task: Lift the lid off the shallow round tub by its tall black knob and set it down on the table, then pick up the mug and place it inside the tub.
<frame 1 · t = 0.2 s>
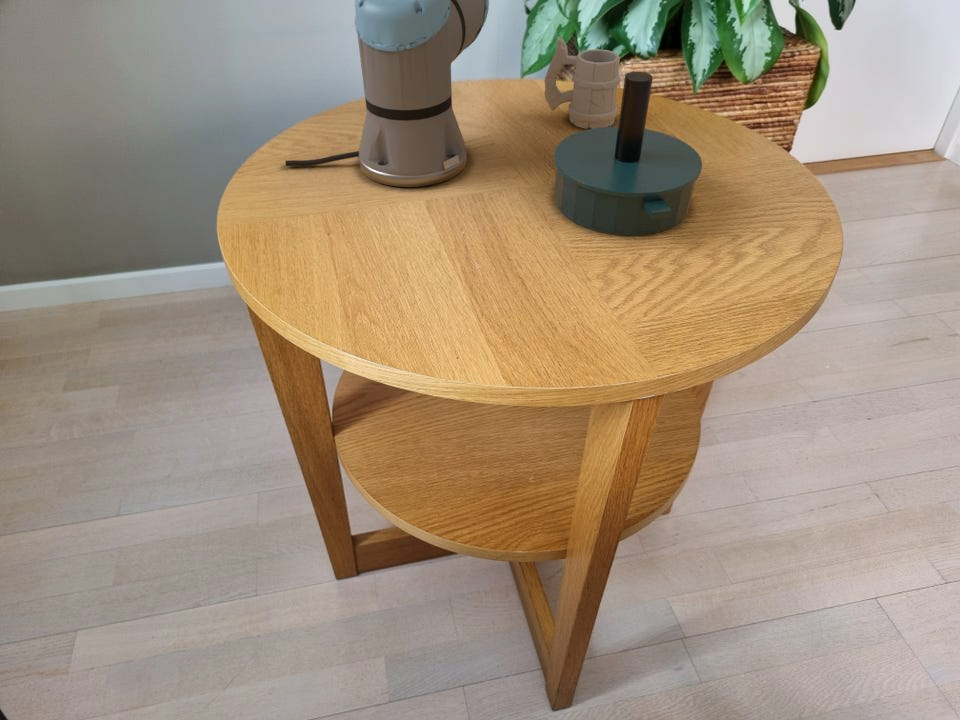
shallow round tub: (620, 200, 92), on the table
mug: (578, 120, 111), on the table
lid: (626, 161, 88), point 5 cm above the table, touching shallow round tub
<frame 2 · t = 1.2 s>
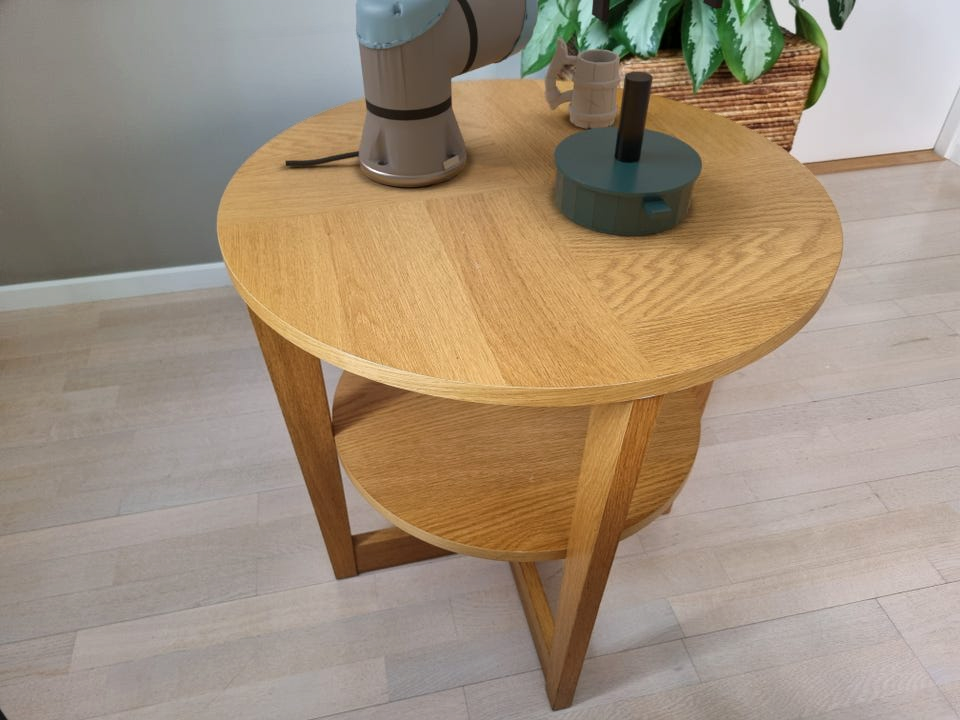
hand: (656, 11, 77), 23 cm above the table, tool pointing down, fingers open, 13 cm apart
nothing on the table moved.
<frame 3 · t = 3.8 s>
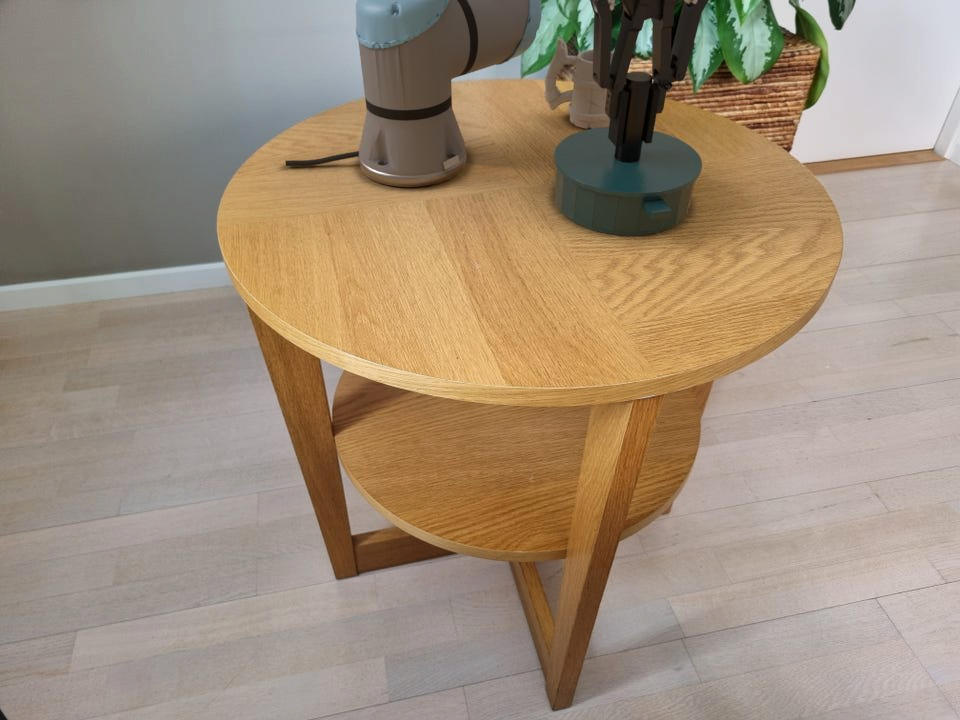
hand: (629, 139, 86), 8 cm above the table, tool pointing down, fingers closed on lid, 3 cm apart
lid: (626, 161, 88), point 5 cm above the table, touching gripper, shallow round tub
everything else where it was.
when the fingers open (3 cm above the table, at t = 12.1 s): lid stays where it is, point 1 cm above the table.
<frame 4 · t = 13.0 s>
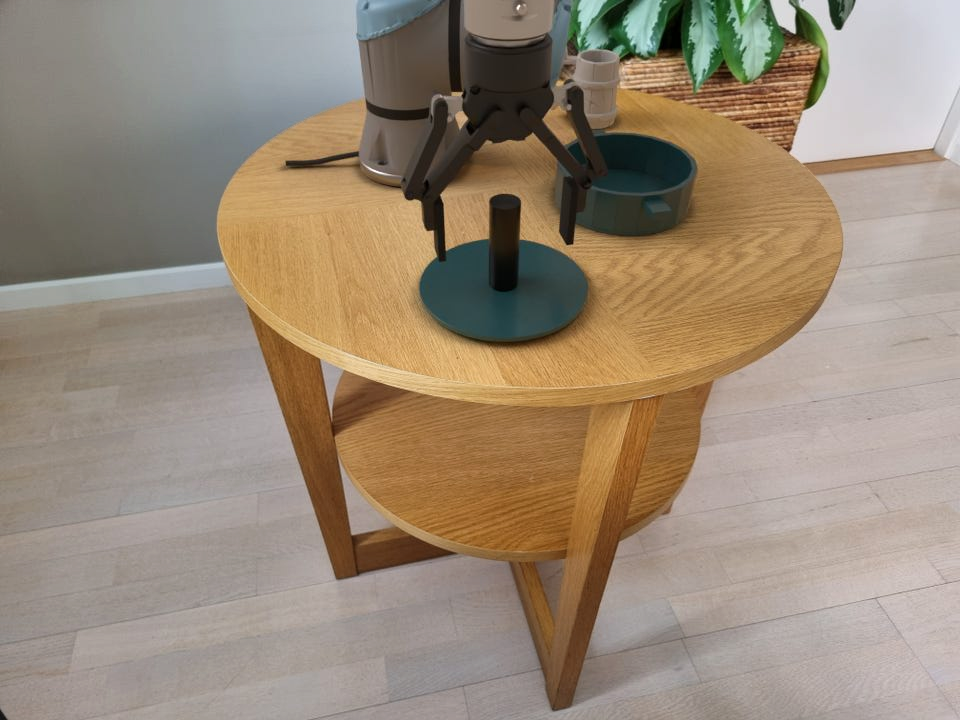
hand: (504, 246, 73), 6 cm above the table, tool pointing down, fingers open, 13 cm apart
lid: (503, 287, 77), point 1 cm above the table
everything else where it was.
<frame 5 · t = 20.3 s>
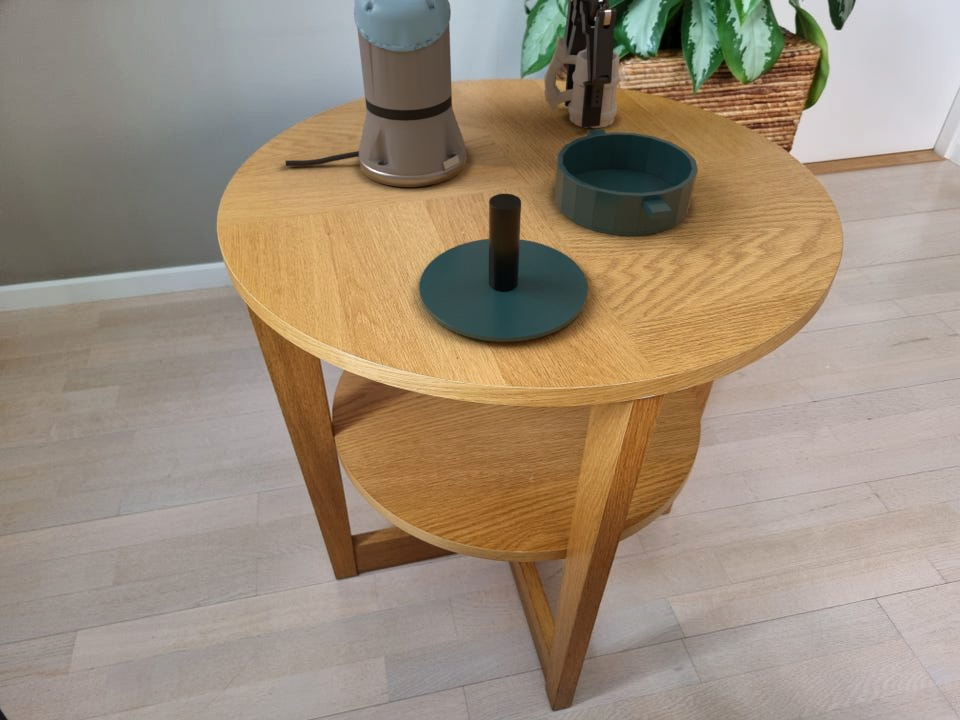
hand: (581, 114, 110), 1 cm above the table, tool pointing down, fingers closed on mug, 8 cm apart
mug: (578, 119, 112), on the table, touching gripper
everything else where it was.
when the fingers open (1 cm above the table, at t = 29.8 s): mug stays where it is, resting on shallow round tub.
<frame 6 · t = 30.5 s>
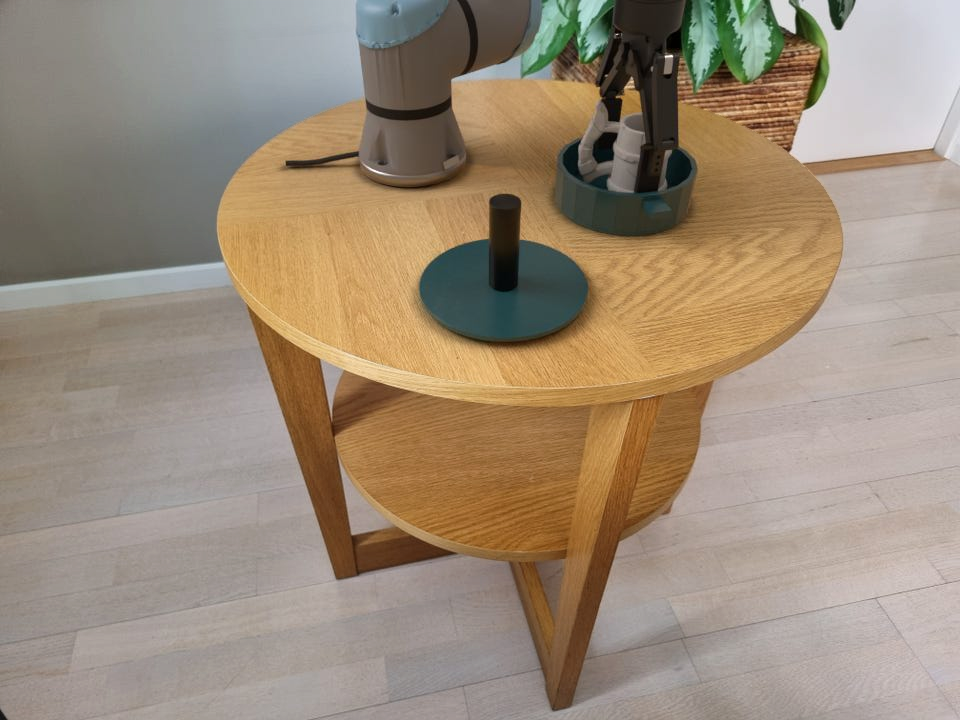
hand: (624, 171, 89), 4 cm above the table, tool pointing down, fingers open, 13 cm apart
mug: (618, 195, 92), resting on shallow round tub
everything else where it was.
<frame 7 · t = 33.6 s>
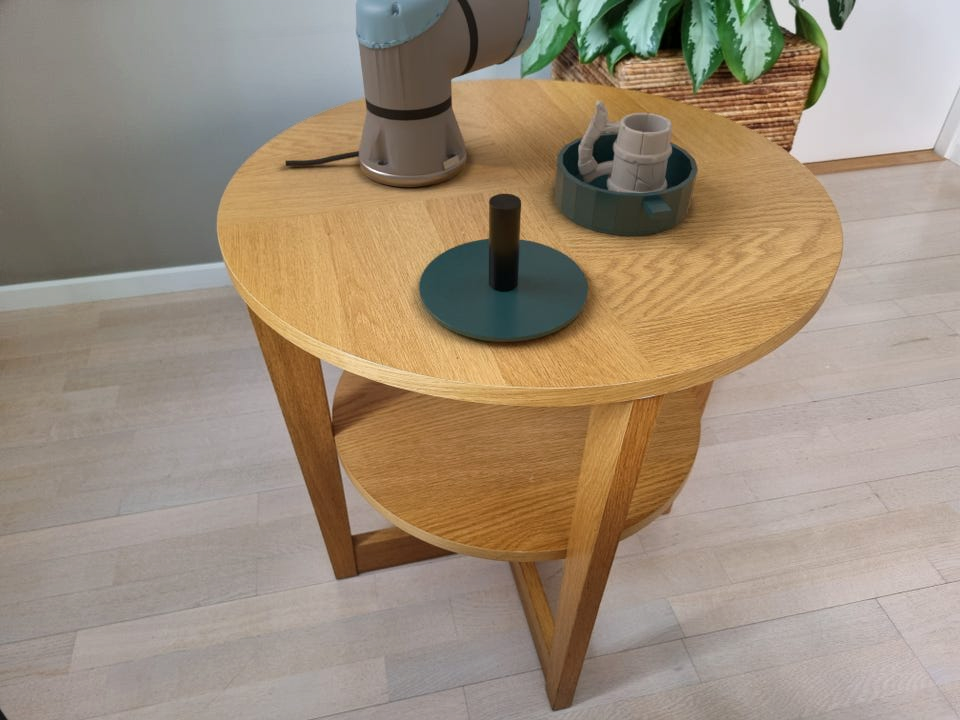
nothing on the table moved.
at the end: lid inside the target area (0.1 cm from its centre), point 0.6 cm above the table; mug inside the target area in the shallow round tub (0.8 cm from its centre), point 0.3 cm above the shallow round tub's base; mug tilted 0° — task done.
